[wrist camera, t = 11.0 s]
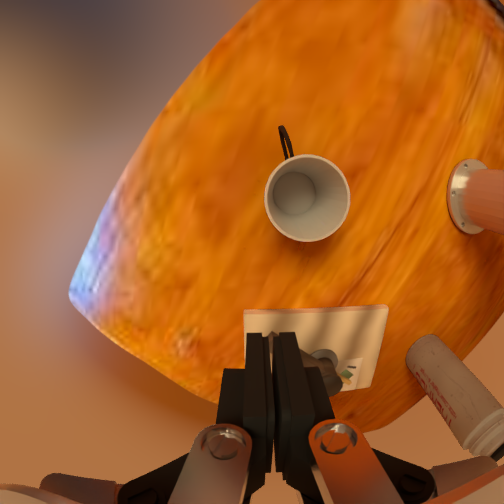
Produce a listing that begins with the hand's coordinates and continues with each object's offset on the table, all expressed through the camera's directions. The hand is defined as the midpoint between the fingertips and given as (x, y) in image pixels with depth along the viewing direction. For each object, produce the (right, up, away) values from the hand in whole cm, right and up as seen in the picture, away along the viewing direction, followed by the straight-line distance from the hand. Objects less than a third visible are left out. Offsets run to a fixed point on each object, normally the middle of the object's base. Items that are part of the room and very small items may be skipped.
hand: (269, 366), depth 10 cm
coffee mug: (+5, +13, +27) cm, 30 cm away
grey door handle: (+8, -12, +31) cm, 34 cm away
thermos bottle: (+31, -15, +34) cm, 48 cm away
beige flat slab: (+9, -12, +33) cm, 36 cm away
